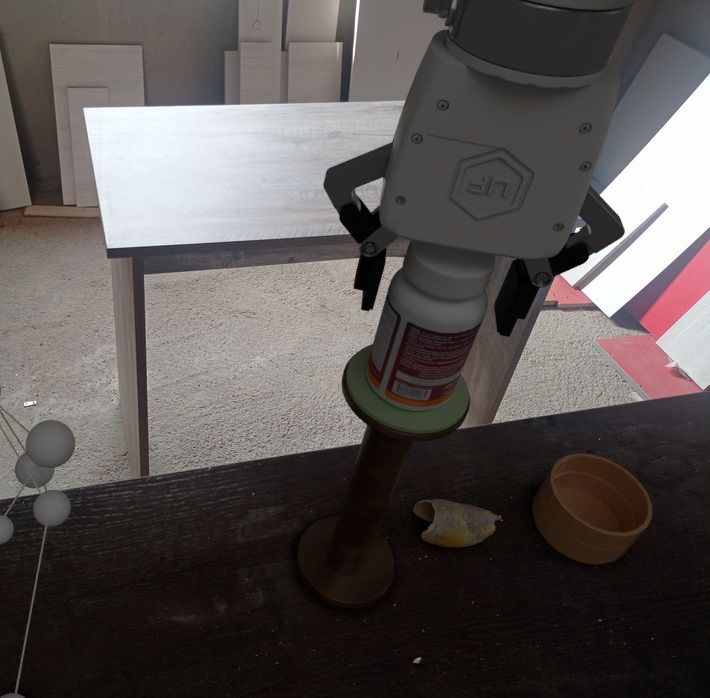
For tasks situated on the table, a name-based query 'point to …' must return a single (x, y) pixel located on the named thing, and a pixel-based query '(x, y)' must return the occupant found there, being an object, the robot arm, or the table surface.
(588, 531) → the bowl
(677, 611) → the table surface
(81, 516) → the table surface
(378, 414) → the coaster
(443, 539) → the cream hollow shell
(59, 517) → the molecule model
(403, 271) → the pill bottle
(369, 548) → the stand
